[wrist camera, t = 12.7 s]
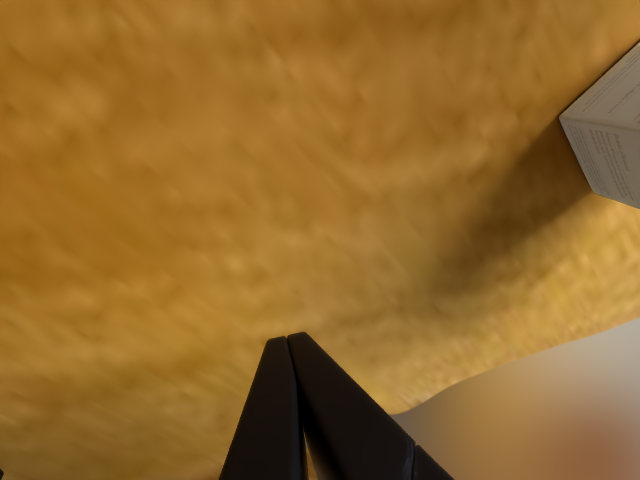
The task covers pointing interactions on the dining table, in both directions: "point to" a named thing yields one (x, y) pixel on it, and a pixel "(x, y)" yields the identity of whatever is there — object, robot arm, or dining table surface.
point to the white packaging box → (609, 131)
